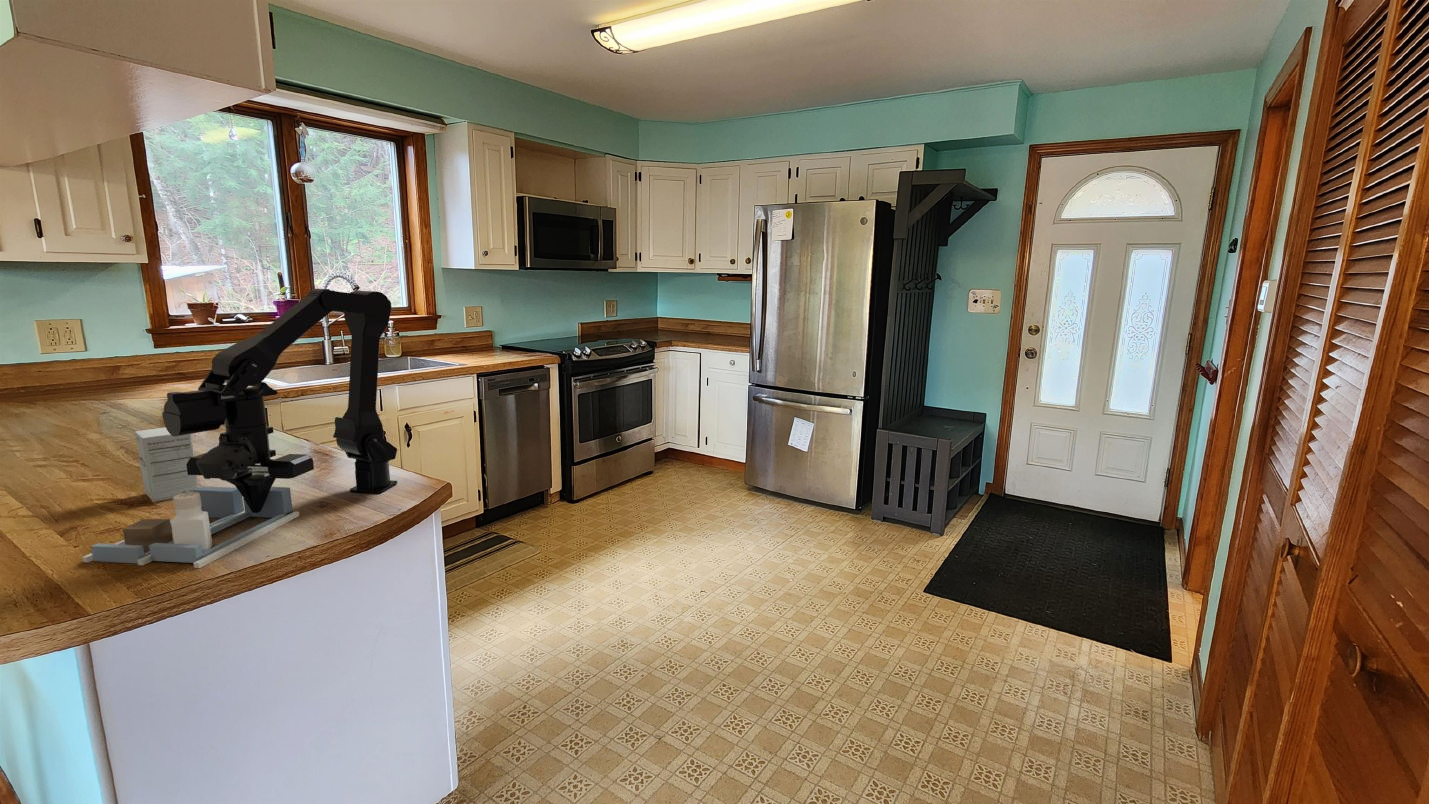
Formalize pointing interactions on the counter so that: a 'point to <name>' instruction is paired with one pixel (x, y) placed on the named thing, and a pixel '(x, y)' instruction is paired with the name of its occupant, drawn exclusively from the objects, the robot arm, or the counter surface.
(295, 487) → the counter surface
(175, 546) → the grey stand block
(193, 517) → the pepper shaker
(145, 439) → the supplement box
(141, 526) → the walnut cube
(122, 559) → the broken strip
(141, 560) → the lane rails
